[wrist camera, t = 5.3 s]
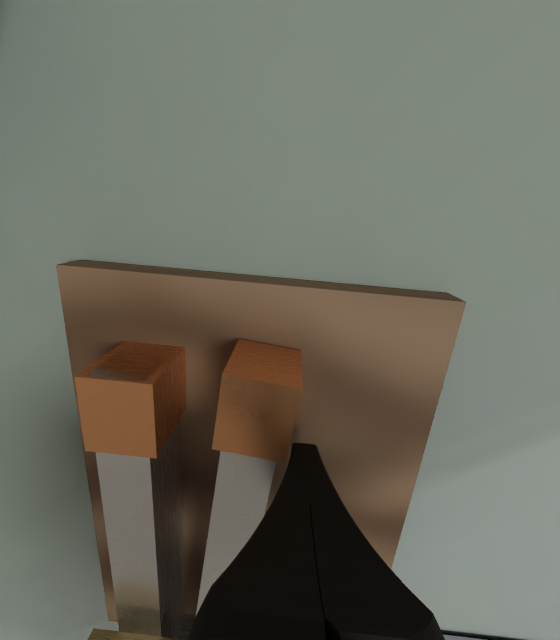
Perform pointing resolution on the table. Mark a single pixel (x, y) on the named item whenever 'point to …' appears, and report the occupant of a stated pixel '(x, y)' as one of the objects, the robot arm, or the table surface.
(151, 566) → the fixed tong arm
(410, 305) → the board
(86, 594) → the table surface
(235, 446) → the tong arm
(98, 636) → the tab
